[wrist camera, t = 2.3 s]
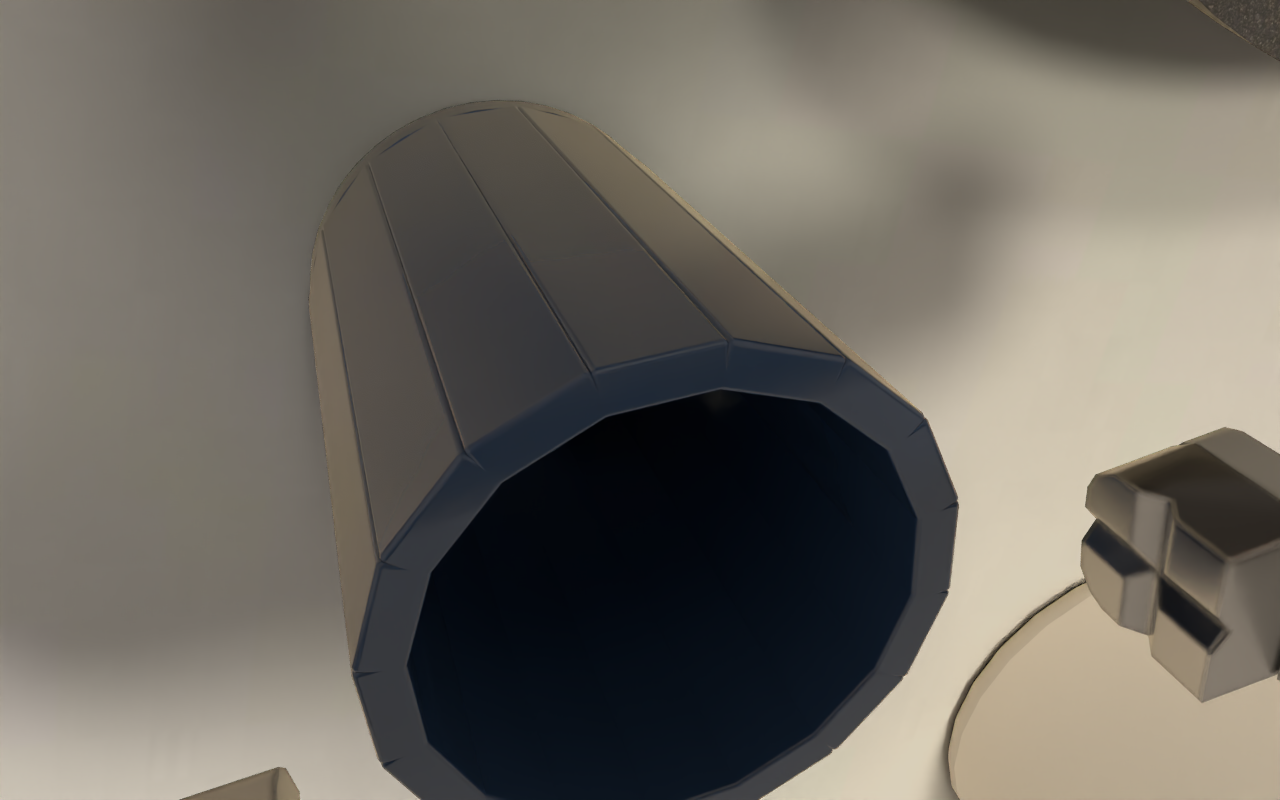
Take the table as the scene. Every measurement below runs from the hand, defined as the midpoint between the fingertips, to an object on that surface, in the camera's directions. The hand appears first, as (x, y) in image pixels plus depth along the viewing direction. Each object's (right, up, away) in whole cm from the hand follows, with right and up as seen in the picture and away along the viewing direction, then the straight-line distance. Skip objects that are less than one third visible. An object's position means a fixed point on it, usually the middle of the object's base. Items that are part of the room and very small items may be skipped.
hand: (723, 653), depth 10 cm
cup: (-3, +4, +8) cm, 9 cm away
